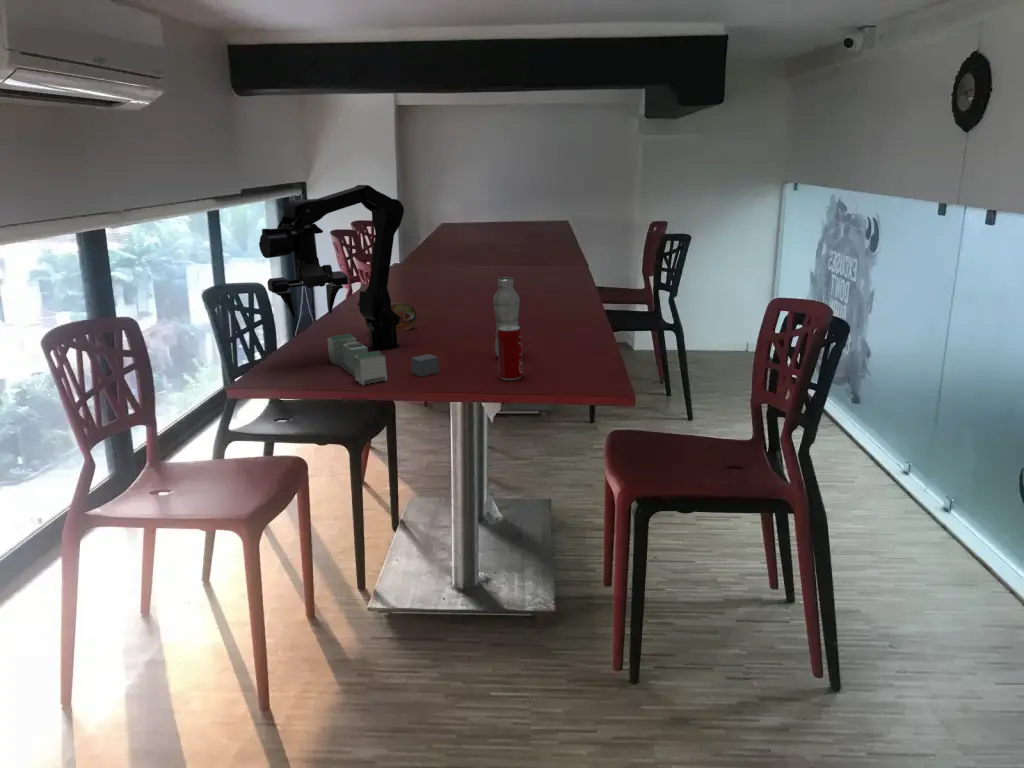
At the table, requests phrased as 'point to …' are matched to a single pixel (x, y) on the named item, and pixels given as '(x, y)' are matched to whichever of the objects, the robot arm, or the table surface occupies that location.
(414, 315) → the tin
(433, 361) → the block
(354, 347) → the block
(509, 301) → the plastic bottle
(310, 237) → the robot arm
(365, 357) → the rail
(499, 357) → the soda can
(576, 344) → the table surface
